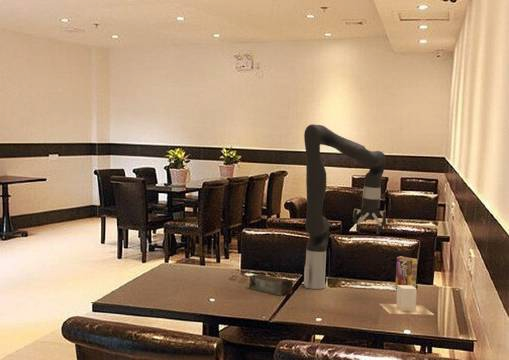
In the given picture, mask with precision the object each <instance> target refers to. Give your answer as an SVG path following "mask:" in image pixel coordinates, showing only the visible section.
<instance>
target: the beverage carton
mask: <svg viewBox="0 0 509 360" xmlns="http://www.w3.org/2000/svg"><path fill="white" fill-rule="evenodd" d="M293 282H294V281H293V280H291V279H288V278H280V277H275V276H270V275H266V274H262V273H260V274H259V273H258V274H253V275H250V276H249V283H248V284H249V287H248V288H249V289H251V290H254V291H259V292H262V293H268V294H272V295H275V296H280V297H283V296H288V295H292V294H293Z"/></svg>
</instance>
